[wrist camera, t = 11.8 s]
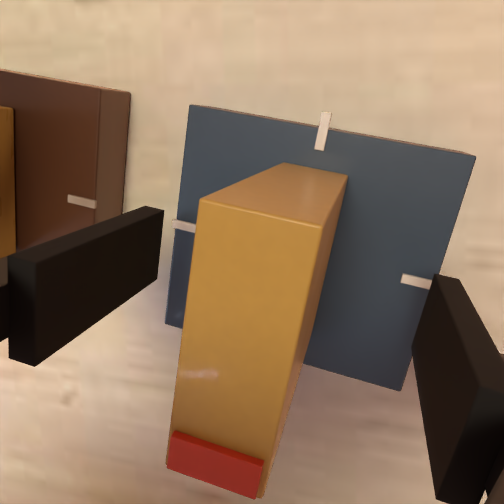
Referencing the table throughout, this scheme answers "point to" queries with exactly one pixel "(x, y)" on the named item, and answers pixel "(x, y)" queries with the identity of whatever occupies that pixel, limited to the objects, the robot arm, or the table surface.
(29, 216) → the brown flat square block
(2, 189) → the yellow block with red
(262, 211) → the post with red top
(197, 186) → the blue square dial plate
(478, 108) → the table surface
